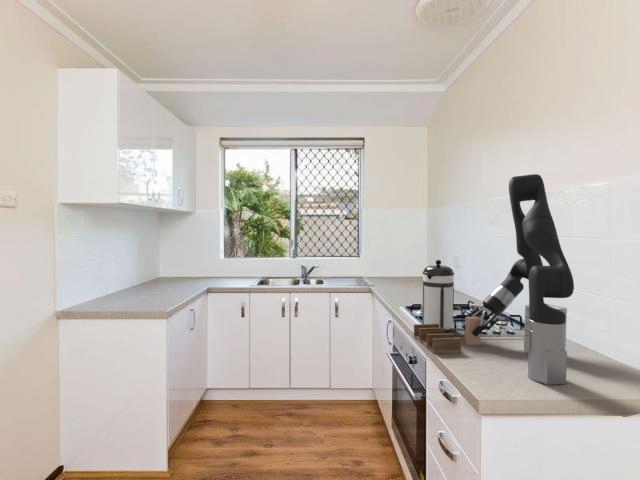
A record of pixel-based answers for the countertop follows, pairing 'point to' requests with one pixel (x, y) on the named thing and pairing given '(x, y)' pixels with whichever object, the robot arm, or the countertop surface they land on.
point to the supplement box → (526, 332)
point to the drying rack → (437, 338)
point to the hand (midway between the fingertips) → (468, 332)
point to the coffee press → (438, 296)
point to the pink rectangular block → (469, 327)
